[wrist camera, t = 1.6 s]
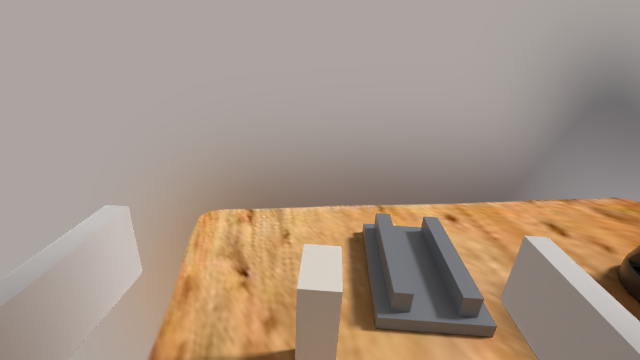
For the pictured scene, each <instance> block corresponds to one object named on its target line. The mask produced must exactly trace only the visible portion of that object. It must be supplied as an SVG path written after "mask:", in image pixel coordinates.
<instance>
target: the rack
mask: <svg viewBox="0 0 640 360" xmlns="http://www.w3.org/2000/svg"><path fill="white" fill-rule="evenodd" d="M363 239H364V246H365V254H366V261H367V268H368V275H369V283H370V290H371V297H372V305H373V312H374V319H375V326H376V328H380V329H393V330H406V331H419V332H433V333H446V334H459V335H472V336H486V337H493V335H494V333H495V330H496V327H497V326H496V324H495V322H494V321H493V319H492V317H491V315H490V313H489V312H488V310H487V308H486V306H485V305H484V303H483V301H484V298H483V296H482V295H481V293H480V291H479V289H478V288H477V286H476V284H475V283H474V281H473V279H472V277H471V276H470V274H469V272H468V270H467V269H466V267H465V265H464V263H463V262H462V260H461V258H460V256H459V255H458V253H457V251H456V249H455V248H454V246H453V244H452V242H451V241H450V239H449V237H448V235H447V234H446V232H445V230H444V228H443V227H442V225H441V223H440V221H439V220H438V218H436V217H423V222H422V227H421V228H419V227H404V226H393V224H392V221H391V217H390V214H376V217H375V224H363Z"/></svg>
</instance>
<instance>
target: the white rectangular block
mask: <svg viewBox="0 0 640 360" xmlns="http://www.w3.org/2000/svg"><path fill="white" fill-rule="evenodd" d="M342 293H343V288H342V247H341V246H327V245H313V244H304V248H303V254H302V260H301V267H300V273H299V279H298V285H297V306H296V345H295V360H336V352H337V342H338V332H339V322H340V313H341V303H342Z"/></svg>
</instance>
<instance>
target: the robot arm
mask: <svg viewBox="0 0 640 360" xmlns="http://www.w3.org/2000/svg"><path fill="white" fill-rule="evenodd" d="M141 273H142V267H141V262H140V258H139V253H138V248H137V244H136V239H135V234H134V229H133V226H132V220H131V216H130V211H129V207H125V206H113V205H106V206H104V207H103V208H101V209H100V210H99V211H97V212H96V213H94V214H93V215H91V216H90V217H88V218H87V219H86V220H84V221H83V222H81V223H80V224H78V225H77V226H76V227H74V228H73V229H71V230H70V231H68V232H67V233H66V234H65V235H63V236H61V237H60V238H58V239H57V240H56V241H54V242H53V243H52V244H50V245H48V246H47V247H46V248H44V249H43V250H41V251H40V252H38V253H37V254H36V255H34V256H33V257H31V258H30V259H28V260H27V261H26V262H24V263H23V264H21V265H20V266H19V267H17V268H16V269H14V270H13V271H12V272H10V273H9V274H7V275H6V276H4V277H3V278H1V279H0V360H68V359H69V358H70V357H71V356H72V355H73V354H74V352H75V351H76V350H77V349H78V348H79V346H80V345H81V344H82V343H83V342H84V341H85V339H86V338H87V337H88V336H89V335H90V333H91V332H92V331H93V330H94V329H95V328H96V326H97V325H98V324H99V323H100V322H101V321H102V319H103V318H104V317H105V316H106V315H107V314H108V312H109V311H110V310H111V309H112V308H113V306H114V305H115V304H116V303H117V302H118V301H119V299H120V298H121V297H122V296H123V295H124V293H125V292H126V291H127V290H128V289H129V288H130V286H131V285H132V284H133V283H134V282H135V280H136V279H137V278H138V277H139V276H140V274H141ZM618 277H619V279H620V281H621V283H622V284H623V286H624V287H625V288H626V289H627V290H628V291H629V292H630V293H631V294H632V295H633V296H634V297H635V298H636V299H638V300H639V301H640V246H638V247H637V248H636V249H634V250H633V251H632V252H630V253H629V254H628V255H627V256H626V257H625V259H624V260H623V262H622V264H621V266H620V268H619V270H618ZM501 302H502V304H503V305H504V307H505V308H506V310H507V311H508V313H509V315H510V316H511V318H512V319H513V321H514V322H515V324H516V326H517V327H518V329H519V330H520V332H521V333H522V335H523V337H524V338H525V340H526V341H527V343H528V344H529V346H530V348H531V349H532V351H533V352H534V354H535V355H536V357H537V359H538V360H640V321H639V320H637V319H636V318H635V317H634V316H633V315H632V314H631V313H630V312H629V311H628V310H627V309H626V308H624V307H623V306H622V305H621V304H620V303H619V302H618V301H617V300H616V299H615V298H614V297H612V296H611V295H610V294H609V293H608V292H607V291H606V290H605V289H604V288H603V287H602V286H601V285H599V284H598V283H597V282H596V281H595V280H594V279H593V278H592V277H591V276H590V275H589V274H587V273H586V272H585V271H584V270H583V269H582V268H581V267H580V266H579V265H578V264H577V263H575V262H574V261H573V260H572V259H571V258H570V257H569V256H568V255H567V254H566V253H565V252H564V251H562V250H561V249H560V248H559V247H558V246H557V245H556V244H555V243H554V242H553V241H552V240H550V239H549V238H548V237H534V236H524V238H523V241H522V244H521V246H520V249H519V252H518V254H517V257H516V260H515V262H514V265H513V268H512V270H511V273H510V276H509V278H508V281H507V284H506V286H505V289H504V292H503V294H502V297H501Z"/></svg>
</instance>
